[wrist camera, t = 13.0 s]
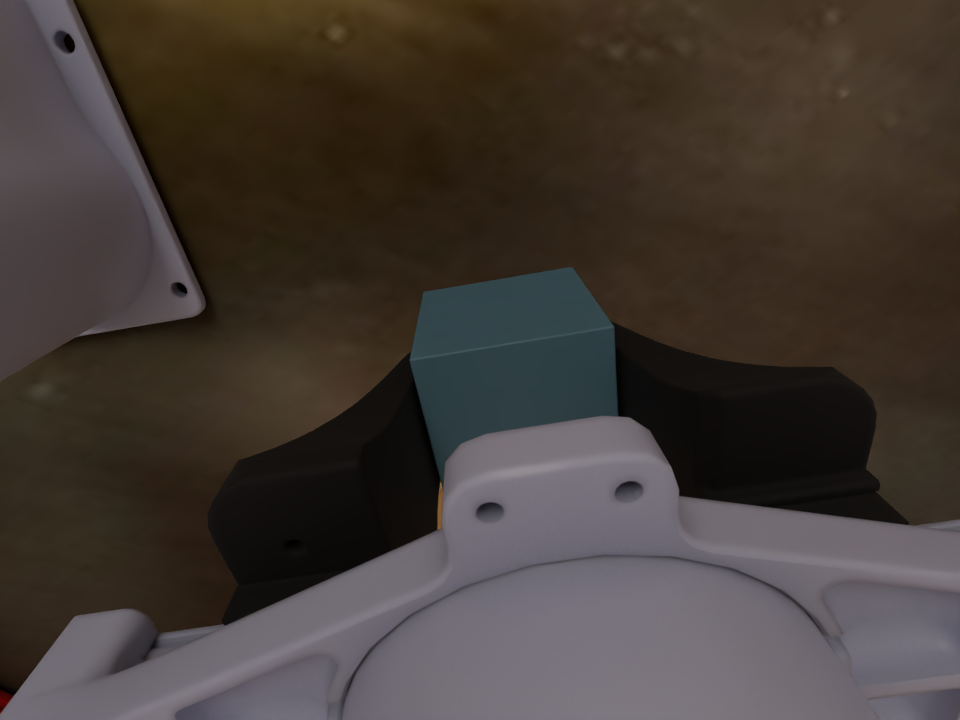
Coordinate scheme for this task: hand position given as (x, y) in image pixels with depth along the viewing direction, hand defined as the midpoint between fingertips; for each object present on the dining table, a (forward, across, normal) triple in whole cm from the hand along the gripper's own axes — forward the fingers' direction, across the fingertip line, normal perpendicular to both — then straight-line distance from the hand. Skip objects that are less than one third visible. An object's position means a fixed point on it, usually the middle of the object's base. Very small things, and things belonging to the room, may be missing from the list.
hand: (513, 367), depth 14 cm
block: (+1, 0, 0) cm, 1 cm away
